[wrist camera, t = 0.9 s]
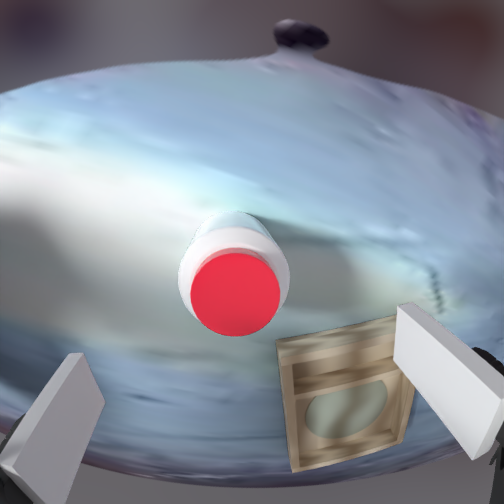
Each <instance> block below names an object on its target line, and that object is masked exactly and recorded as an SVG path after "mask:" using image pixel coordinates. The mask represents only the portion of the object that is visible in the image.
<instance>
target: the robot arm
mask: <svg viewBox="0 0 504 504" xmlns="http://www.w3.org/2000/svg"><path fill="white" fill-rule="evenodd" d="M393 361H394V362H395V363H396V364H397V365H398V367H399V368H400V369H401V370H402V372H403V373H404V374H405V375H406V376H407V378H408V379H409V380H410V381H411V383H412V384H413V385H414V386H415V388H416V389H417V390H418V391H419V393H420V394H421V395H422V396H423V398H424V399H425V400H426V401H427V403H428V404H429V405H430V406H431V408H432V409H433V410H434V411H435V413H436V414H437V415H438V416H439V418H440V419H441V420H442V422H443V423H444V424H445V425H446V427H447V428H448V429H449V431H450V432H451V433H452V434H453V436H454V437H455V438H456V440H457V441H458V442H459V444H460V445H461V446H462V448H463V449H464V450H465V451H466V453H467V454H468V455H469V457H470V458H471V459H472V460H474V459H476V458H478V457H479V456H481V455H483V454H484V453H486V452H488V451H489V450H490V448H491V446H492V444H493V442H494V440H495V439H496V440H497V441H498V442H499V443H500V445H499V447H498V449H497V450H496V452H495V454H494V456H493V458H492V459H491V461H490V464H489V465H492V464H493V462H494V460H495V459H496V466H495V474H494V481H493V487H492V493H491V498H490V503H489V504H504V366H503V364H502V363H501V362H500V361H498V360H496V358H495V357H493V356H492V355H491V354H490V353H489V352H487V351H485V350H482V349H480V348H477V347H474V348H472V349H471V348H470V347H468V346H467V345H466V344H465V343H464V342H462V341H461V340H460V339H459V338H457V337H456V336H455V335H454V334H452V333H451V332H450V331H449V330H447V329H446V328H445V327H444V326H442V325H441V324H440V323H439V322H437V321H436V320H435V319H434V318H432V317H431V316H430V315H429V314H427V313H426V312H425V311H423V310H422V309H421V308H420V307H418V306H417V305H416V304H414V303H413V302H410V303H406V304H402V305H398V306H397V319H396V334H395V345H394V356H393ZM105 403H106V402H105V400H104V398H103V396H102V394H101V392H100V389H99V387H98V385H97V383H96V381H95V378H94V376H93V374H92V372H91V369H90V367H89V365H88V362H87V360H86V357H85V355H84V353H69V354H68V356H67V357H66V358H65V360H64V361H63V362H62V364H61V365H60V366H59V368H58V369H57V370H56V372H55V373H54V375H53V376H52V377H51V379H50V380H49V382H48V383H47V384H46V386H45V387H44V389H43V390H42V391H41V393H40V394H39V396H38V397H37V399H36V400H35V402H34V403H33V404H32V406H31V407H30V409H29V410H28V412H27V413H26V414H24V415H23V416H21V417H20V418H19V419H18V420H17V421H16V422H15V423H14V425H13V426H12V428H11V429H10V432H8V434H7V435H6V439H4V440H3V442H2V443H1V445H0V504H33V503H34V504H65V502H66V499H67V496H68V493H69V491H70V488H71V486H72V483H73V480H74V477H75V475H76V472H77V470H78V467H79V465H80V462H81V460H82V457H83V455H84V452H85V450H86V447H87V445H88V442H89V440H90V438H91V435H92V433H93V431H94V428H95V426H96V423H97V421H98V419H99V417H100V414H101V412H102V410H103V407H104V405H105Z"/></svg>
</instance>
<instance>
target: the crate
mask: <svg viewBox="0 0 504 504" xmlns="http://www.w3.org/2000/svg"><path fill="white" fill-rule="evenodd" d="M396 319H397V314H396V315H392V316H388V317H384V318H380V319H376V320H372V321H368V322H363V323H359V324H354V325H350V326H345V327H341V328H336V329H331V330H326V331H321V332H316V333H311V334H306V335H301V336H295V337H290V338H284V339H278V340H275V341H276V349H277V358H278V366H279V375H280V384H281V392H282V401H283V410H284V419H285V428H286V437H287V447H288V455H289V460H290V464H291V468H292V473H295V472H300V471H305V470H310V469H314V468H319V467H323V466H327V465H331V464H335V463H339V462H343V461H346V460H350V459H354V458H357V457H360V456H364V455H367V454H370V453H373V452H376V451H379V450H382V449H385V448H388V447H391V446H394V445H397V444H399V443H402V442H403V438H404V434H405V431H406V427H407V423H408V419H409V415H410V410H411V406H412V402H413V397H414V392H415V386H414V385H413V384H412V383H411V381H410V380H409V379H408V378H407V376H406V375H405V374H404V373H403V372H402V370H401V369H400V368H399V367H398V365H397V364H396V363H395V362H394V361H393V356H394V345H395V334H396Z"/></svg>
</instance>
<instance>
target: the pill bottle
mask: <svg viewBox="0 0 504 504" xmlns="http://www.w3.org/2000/svg"><path fill="white" fill-rule="evenodd" d="M178 284H179V291H180V294H181V298H182V300H183V302H184V304H185V306H186V307H187V309H188V310H189V311H190V312H191V314H192V315H193V316H194V317H195V318H196V319H198V320H199V321H200V322H201V323H202V324H204V325H205V326H206V327H207V328H208V329H210V330H212V331H214V332H216V333H219V334H222V335H226V336H244V335H249V334H251V333H254V332H256V331H258V330H260V329H261V328H263V327H264V326H265V325H266V324H267V323H269V322H270V320H271V319H272V318H273V317H274V316H275V315H276V314H277V312H278V311H279V310H280V308H281V307H282V306H283V304H284V302H285V300H286V297H287V294H288V291H289V287H290V272H289V266H288V263H287V260H286V258H285V255H284V254H283V252H282V251H281V249H280V248H279V246H278V245H277V243H276V242H275V240H274V239H273V237H272V236H271V235H270V233H269V232H268V230H267V229H266V227H265V226H264V225H263V224H262V223H261V222H260V221H259V220H258V219H256V218H255V217H253V216H251V215H249V214H246V213H244V212H239V211H226V212H221V213H218V214H215V215H213V216H211V217H210V218H208V219H207V220H205V221H204V222H203V223H202V224H201V225H200V226H199V228H198V229H197V231H196V232H195V234H194V236H193V238H192V240H191V242H190V244H189V246H188V248H187V250H186V252H185V254H184V256H183V259H182V261H181V264H180V267H179V274H178Z"/></svg>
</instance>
